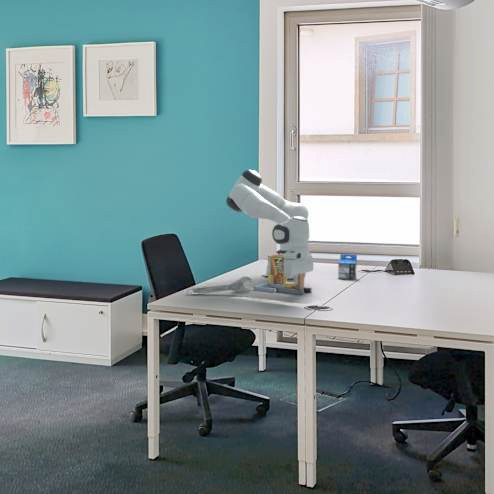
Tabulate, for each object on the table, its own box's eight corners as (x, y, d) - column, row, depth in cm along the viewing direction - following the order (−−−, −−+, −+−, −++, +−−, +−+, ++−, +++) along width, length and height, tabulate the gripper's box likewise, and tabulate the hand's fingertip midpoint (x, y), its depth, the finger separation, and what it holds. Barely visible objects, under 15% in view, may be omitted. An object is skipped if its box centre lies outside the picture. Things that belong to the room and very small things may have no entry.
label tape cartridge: (337, 278, 369) (338, 254, 367) (339, 277, 372) (340, 253, 371) (354, 279, 366) (355, 255, 364) (356, 278, 369) (357, 254, 368)
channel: (274, 295, 322) (274, 287, 322) (286, 292, 331) (286, 284, 330) (301, 298, 314) (301, 290, 314) (312, 295, 323) (312, 287, 322)
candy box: (284, 284, 350) (284, 253, 348) (287, 286, 346) (287, 254, 344) (267, 286, 347) (267, 254, 345) (270, 287, 343) (270, 255, 341)
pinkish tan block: (293, 291, 320) (293, 269, 319) (298, 290, 323) (298, 268, 322) (299, 292, 318) (299, 270, 317) (304, 290, 322) (304, 268, 321)
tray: (253, 293, 328) (253, 286, 328) (267, 289, 338) (267, 283, 337) (273, 295, 322) (273, 289, 321) (287, 291, 331) (287, 285, 331)
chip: (283, 291, 323) (283, 282, 323) (288, 290, 326) (288, 281, 326) (291, 292, 321) (291, 283, 320) (296, 291, 324) (296, 282, 323)
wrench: (188, 300, 326) (253, 292, 326) (188, 301, 324) (253, 293, 324) (186, 283, 325) (251, 275, 325) (186, 284, 324) (251, 276, 323)
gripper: (305, 250, 329) (304, 279, 331) (281, 254, 312) (281, 286, 314) (316, 251, 325) (316, 281, 327) (293, 256, 309) (293, 287, 310)
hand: (299, 283), depth 320 cm, fingers closed on pinkish tan block, 3 cm apart
